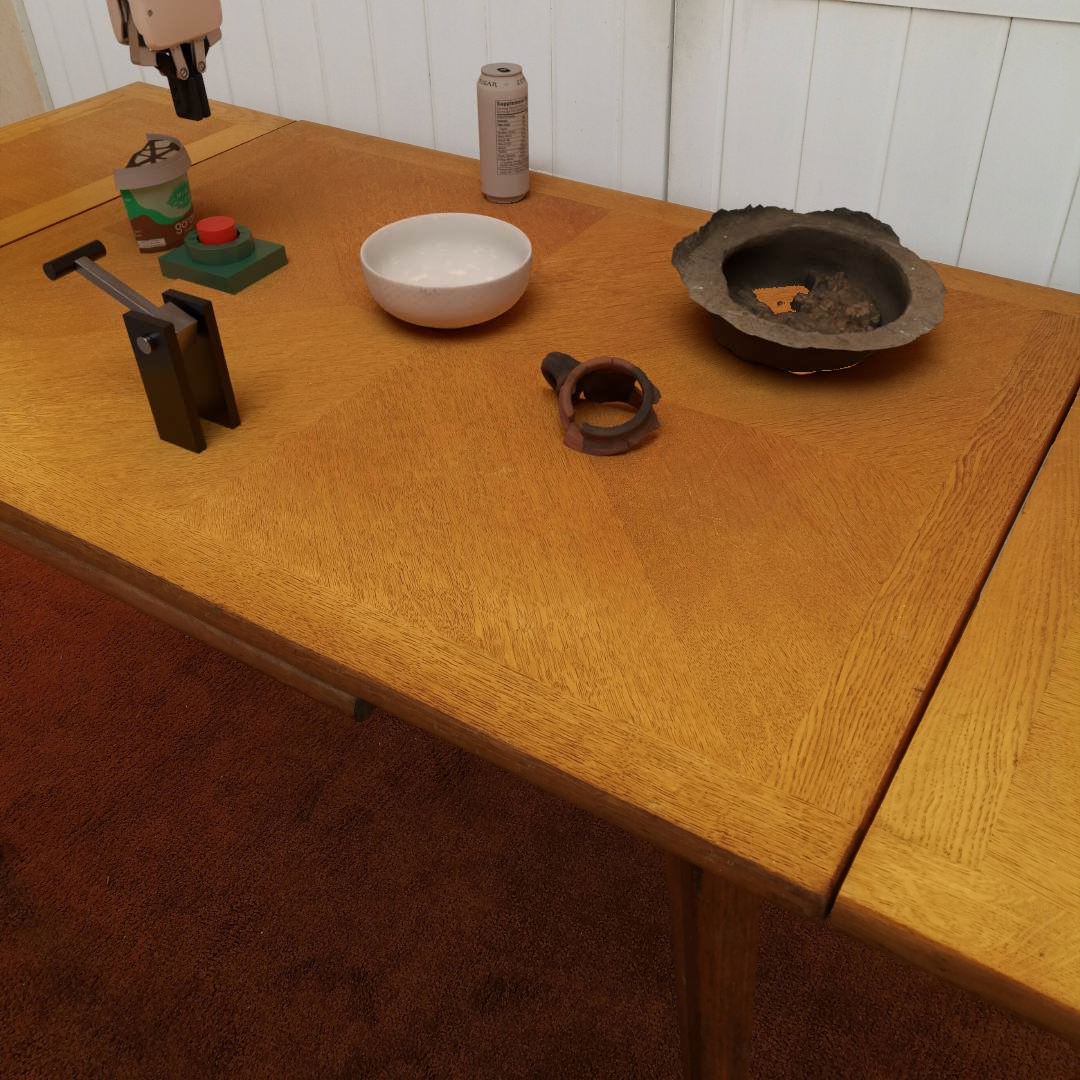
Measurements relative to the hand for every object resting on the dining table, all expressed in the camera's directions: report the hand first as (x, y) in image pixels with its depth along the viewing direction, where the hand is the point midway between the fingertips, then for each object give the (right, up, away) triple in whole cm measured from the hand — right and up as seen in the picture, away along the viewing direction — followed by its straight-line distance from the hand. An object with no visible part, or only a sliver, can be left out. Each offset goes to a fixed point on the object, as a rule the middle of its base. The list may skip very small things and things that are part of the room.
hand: (194, 116), depth 100 cm
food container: (-8, -7, +17) cm, 20 cm away
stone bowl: (+60, -23, -2) cm, 64 cm away
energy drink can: (+30, +1, +26) cm, 40 cm away
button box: (0, -13, +11) cm, 16 cm away
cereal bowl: (+25, -19, +3) cm, 32 cm away
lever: (+2, -24, -21) cm, 32 cm away
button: (0, -10, +8) cm, 13 cm away
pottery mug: (+39, -33, -14) cm, 53 cm away
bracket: (+6, -34, -15) cm, 38 cm away
